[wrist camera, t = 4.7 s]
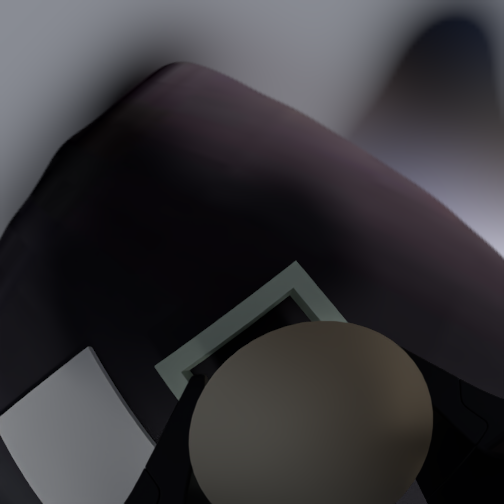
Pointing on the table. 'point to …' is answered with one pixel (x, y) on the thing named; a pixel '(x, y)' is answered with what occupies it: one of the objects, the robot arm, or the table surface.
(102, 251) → the table surface
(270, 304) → the green collar
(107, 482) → the rubber mat
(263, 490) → the ash peg
